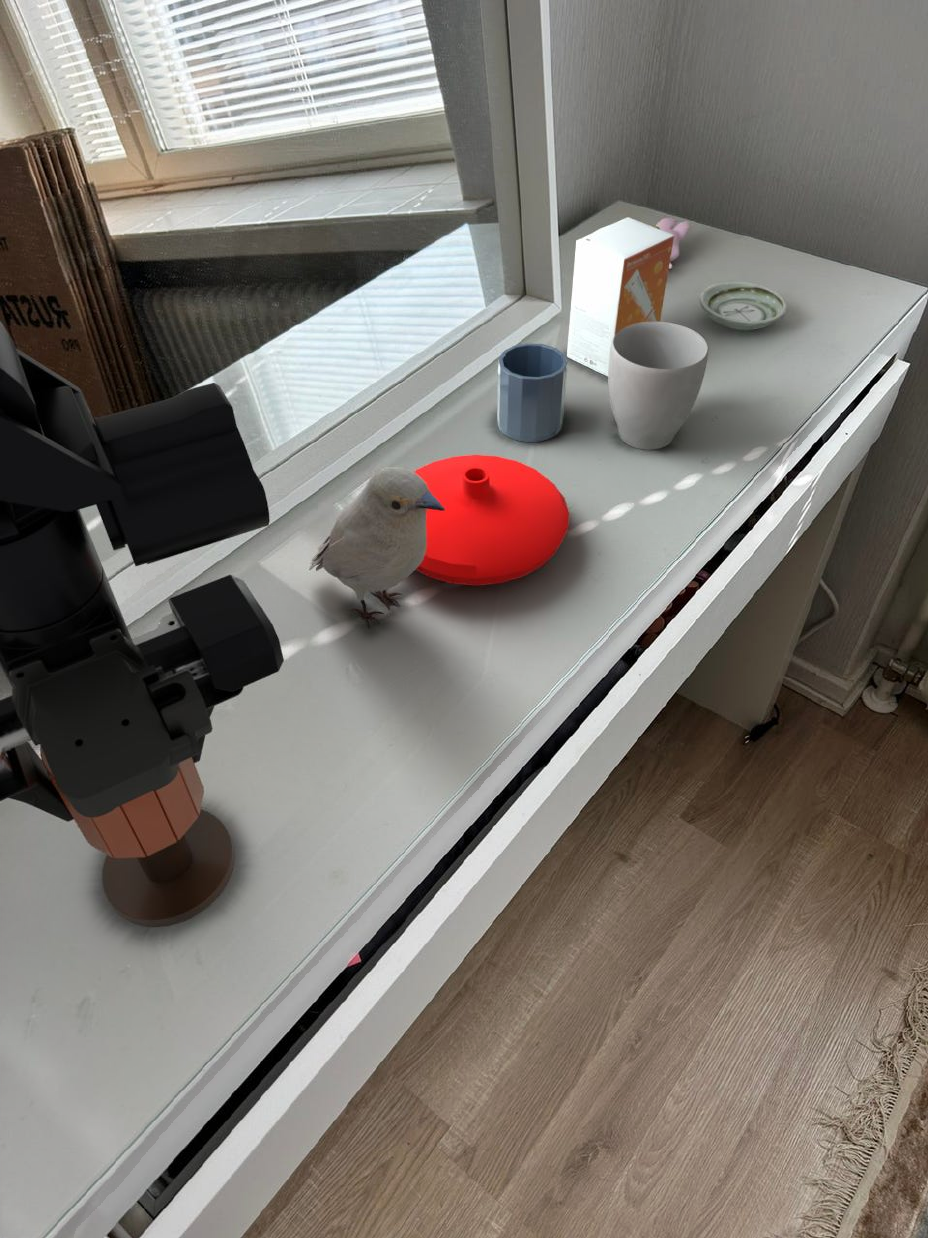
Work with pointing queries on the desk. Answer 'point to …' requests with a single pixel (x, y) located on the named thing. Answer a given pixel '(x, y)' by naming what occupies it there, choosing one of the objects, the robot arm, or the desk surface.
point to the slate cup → (531, 392)
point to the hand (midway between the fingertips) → (132, 785)
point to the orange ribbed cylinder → (143, 816)
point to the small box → (615, 287)
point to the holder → (172, 876)
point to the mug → (654, 380)
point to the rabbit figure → (678, 234)
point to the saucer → (743, 305)
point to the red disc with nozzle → (490, 520)
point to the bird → (379, 535)
